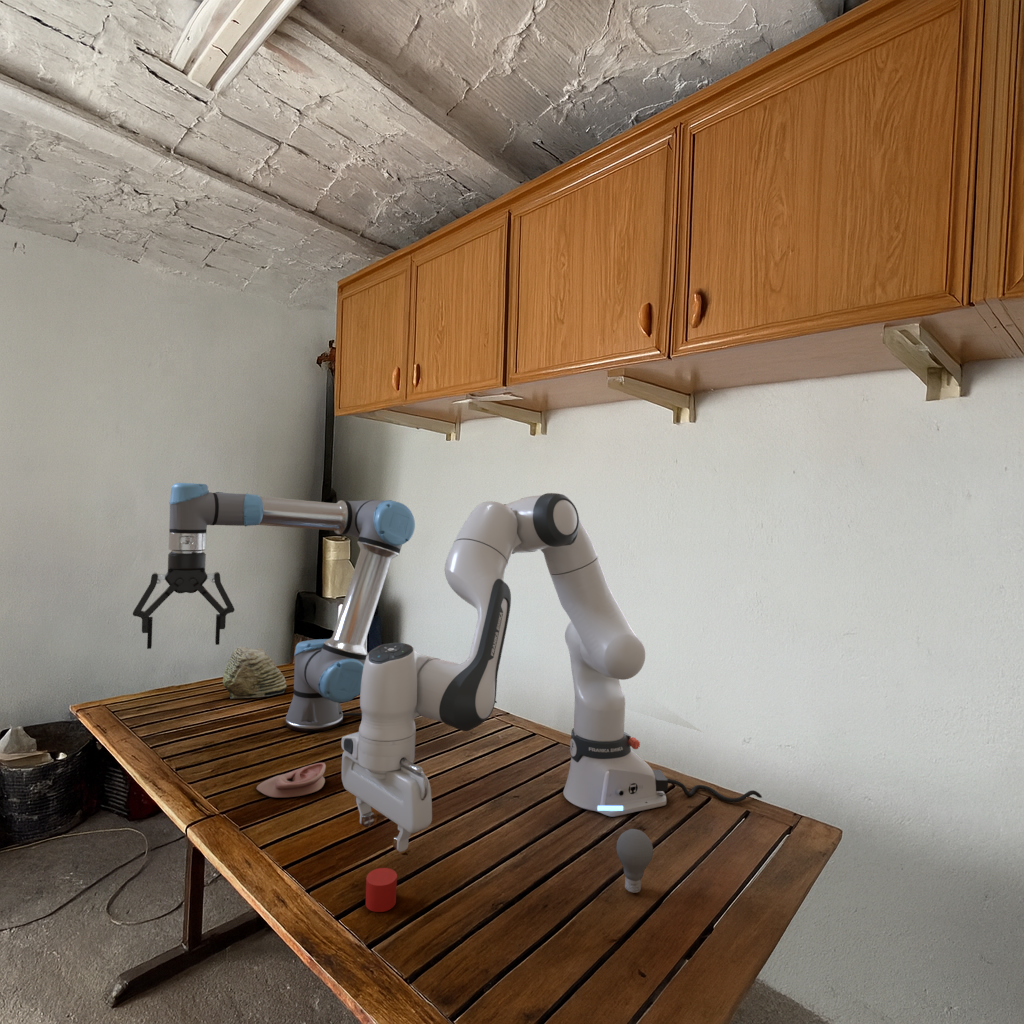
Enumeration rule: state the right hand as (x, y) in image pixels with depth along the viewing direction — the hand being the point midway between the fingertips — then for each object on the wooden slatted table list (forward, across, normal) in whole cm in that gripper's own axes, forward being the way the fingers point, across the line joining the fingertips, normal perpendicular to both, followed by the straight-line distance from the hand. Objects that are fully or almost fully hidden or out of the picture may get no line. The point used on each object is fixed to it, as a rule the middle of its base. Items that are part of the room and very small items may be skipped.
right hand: (383, 836), depth 100 cm
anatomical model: (+11, +46, -8) cm, 48 cm away
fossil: (+11, +112, -28) cm, 116 cm away
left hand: (-18, +69, +8) cm, 72 cm away
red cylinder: (+11, 0, 0) cm, 11 cm away
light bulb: (+11, -25, -33) cm, 43 cm away
